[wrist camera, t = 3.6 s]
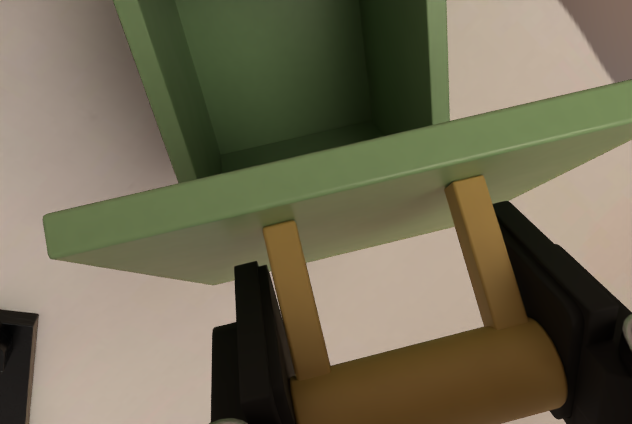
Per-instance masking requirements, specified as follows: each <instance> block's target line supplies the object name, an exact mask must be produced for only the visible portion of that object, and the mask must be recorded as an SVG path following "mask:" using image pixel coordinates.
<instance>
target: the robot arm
mask: <svg viewBox="0 0 632 424" xmlns="http://www.w3.org/2000/svg"><path fill="white" fill-rule="evenodd" d="M493 207H494V211H495V214H496V217H497V220H498V224H499V227H500V230H501V233H502V236H503V240H504V243H505V246H506V249H507V253H508V256H509V259H510V262H511V266H512V269H513V272H514V275H515V278H516V282H517V285H518V288H519V291H520V295H521V298H522V301H523V304H524V308H525V311H526V314H527V317H529V318H532V319H534V320H535V321H537V322H538V323H539V324H540V325H541V326H542V327H543V329H544V330H545V331H546V332H547V334H548V335H549V337H550V338H551V340H552V342H553V344H554V345H555V347H556V349H557V352H558V354H559V356H560V359H561V361H562V364H563V367H564V371H565V375H566V380H567V389H568V392H567V399H566V402H565V403H564V404H563V405H562V406H561V407H560V408H557V409H553V410H550V412H551V413H552V415H553V416H554V417H555V418H556V419H562V418H563V419H564V421H565V422H566V424H632V312H631V311H630V310H629V309H627V308H626V307H625V306H624V305H623V304H622V303H621V302H620V301H619V300H618V299H617V298H616V297H615V296H613V295H612V294H611V293H610V292H609V291H608V290H607V289H606V288H605V287H604V286H603V285H602V284H601V283H600V282H598V281H597V280H596V279H595V278H594V277H593V276H592V275H591V274H590V273H589V272H588V271H587V270H586V269H585V268H583V267H582V266H581V265H580V264H579V263H578V262H577V261H576V260H575V259H574V258H573V257H572V256H571V255H570V254H568V253H567V252H566V251H565V250H564V249H563V248H562V247H560V246H559V245H557V244H554V243H553V242H552V241H551V240H549V239H548V238H547V237H546V236H545V235H544V234H543V233H542V232H541V231H540V230H539V229H538V228H537V227H536V226H535V225H534V224H533V223H531V222H530V221H529V220H528V219H527V218H526V217H525V216H524V215H523V214H522V213H521V212H520V211H519V210H518V209H517V208H516V207H515V206H513V205H512V204H511V203H510V202H509V201H502V202H498V203H494V204H493ZM234 277H235V300H236V322H235V323H231V324H227V325H223V326H219V327H215V328H214V329H213V333H212V387H211V423H209V424H296V420H295V415H294V410H293V405H292V399H291V392H290V378H291V377H292V376H293V375H295V372H294V368H293V364H292V359H291V355H290V350H289V346H288V342H287V337H286V333H285V328H284V324H283V320H282V317H281V313H280V309H279V306H278V302H277V299H276V295H275V291H274V288H273V284H272V281H271V277H270V274H269V270H268V267H267V265H262V266H259V265H258V262H257V261H253V262H249V263H245V264H241V265H237V266H234Z"/></svg>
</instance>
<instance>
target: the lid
mask: <svg viewBox="0 0 632 424" xmlns="http://www.w3.org/2000/svg"><path fill="white" fill-rule="evenodd" d="M630 140H632V79H630V80H627V81H622V82H618V83H613V84H609V85H604V86H600V87H596V88H591V89H587V90H583V91H578V92H574V93H570V94H565V95H561V96H556V97H552V98H548V99H543V100H539V101H535V102H530V103H526V104H522V105H517V106H513V107H509V108H504V109H500V110H496V111H491V112H487V113H483V114H478V115H474V116H470V117H465V118H461V119H457V120H452V121H448V122H444V123H439V124H435V125H430V126H426V127H422V128H417V129H413V130H409V131H404V132H400V133H396V134H391V135H387V136H383V137H378V138H374V139H370V140H365V141H361V142H357V143H352V144H348V145H344V146H339V147H335V148H331V149H326V150H322V151H317V152H313V153H309V154H304V155H300V156H296V157H291V158H287V159H283V160H278V161H274V162H270V163H265V164H261V165H257V166H252V167H248V168H244V169H239V170H235V171H231V172H226V173H222V174H218V175H213V176H209V177H205V178H200V179H196V180H191V181H187V182H183V183H178V184H174V185H170V186H165V187H161V188H157V189H152V190H148V191H144V192H139V193H135V194H131V195H126V196H122V197H118V198H113V199H109V200H105V201H100V202H96V203H92V204H87V205H83V206H78V207H74V208H70V209H65V210H61V211H57V212H52V213H48V214H46V215H44V216H43V225H44V232H45V238H46V245H47V251H48V255H49V257H50V259H54V260H60V261H67V262H73V263H79V264H85V265H91V266H97V267H103V268H110V269H116V270H122V271H128V272H134V273H140V274H146V275H153V276H159V277H165V278H171V279H177V280H183V281H190V282H196V283H202V284H208V285H217V284H221V283H225V282H229V281H233V280H235V277H234V266H237V265H241V264H245V263H249V262H253V261H257V262H258V265H259V266H262V265H267V267H268V270H269V272H270V271H272V276H273V280H274V284H275V289H276V293H277V298H278V302H279V306H280V311H281V315H282V320H283V324H284V328H285V333H286V337H287V342H288V346H289V350H290V355H291V359H292V364H293V368H294V372H295V375H293V376H292V377H291V378H290V392H291V399H292V405H293V410H294V415H295V420H296V424H501V423H505V422H509V421H512V420H516V419H520V418H524V417H527V416H531V415H535V414H539V413H542V412H546V411H550V410H553V409H557V408H560V407H561V406H562V405H563V404H564V403H565V402H566V399H567V392H568V389H567V380H566V375H565V371H564V367H563V364H562V361H561V359H560V356H559V354H558V352H557V349H556V347H555V345H554V344H553V342H552V340H551V338H550V337H549V335H548V334H547V332H546V331H545V330H544V329H543V327H542V326H541V325H540V324H539V323H538V322H537V321H535V320H534V319H532V318H529V317H527V314H526V311H525V308H524V304H523V301H522V298H521V295H520V291H519V288H518V285H517V282H516V278H515V275H514V272H513V269H512V266H511V262H510V259H509V256H508V253H507V249H506V246H505V243H504V240H503V236H502V233H501V230H500V227H499V224H498V220H497V217H496V214H495V211H494V207H493V204H494V203H498V202H502V201H509V200H511V199H513V198H515V197H517V196H519V195H521V194H523V193H525V192H527V191H529V190H531V189H533V188H535V187H537V186H539V185H541V184H543V183H545V182H547V181H549V180H551V179H553V178H555V177H557V176H559V175H562V174H564V173H566V172H568V171H570V170H572V169H574V168H576V167H578V166H580V165H582V164H584V163H586V162H588V161H590V160H592V159H594V158H596V157H598V156H600V155H602V154H604V153H606V152H608V151H610V150H612V149H614V148H616V147H618V146H620V145H622V144H624V143H626V142H628V141H630ZM451 227H455V229H456V232H457V236H458V239H459V242H460V246H461V249H462V253H463V256H464V259H465V263H466V266H467V270H468V273H469V276H470V280H471V283H472V287H473V290H474V293H475V297H476V300H477V304H478V307H479V310H480V314H481V317H482V321H483V324H484V327H481V328H477V329H473V330H469V331H465V332H461V333H457V334H454V335H450V336H446V337H442V338H438V339H434V340H430V341H426V342H422V343H418V344H414V345H411V346H407V347H403V348H399V349H395V350H391V351H387V352H383V353H379V354H375V355H371V356H368V357H364V358H360V359H356V360H352V361H348V362H344V363H340V364H336V365H332V366H330V362H329V358H328V354H327V350H326V346H325V341H324V337H323V333H322V329H321V325H320V321H319V316H318V312H317V308H316V304H315V300H314V296H313V291H312V287H311V283H310V279H309V275H308V270H307V266H306V263H307V262H312V261H316V260H320V259H324V258H328V257H332V256H336V255H340V254H344V253H349V252H353V251H357V250H361V249H365V248H369V247H373V246H377V245H382V244H386V243H390V242H394V241H398V240H402V239H406V238H410V237H414V236H419V235H423V234H427V233H431V232H435V231H439V230H443V229H447V228H451Z"/></svg>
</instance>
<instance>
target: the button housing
mask: <svg viewBox="0 0 632 424" xmlns="http://www.w3.org/2000/svg"><path fill="white" fill-rule="evenodd" d="M37 327H38V314H31V313H22V312H14V311H5V310H0V424H29V417H30V406H31V395H32V383H33V372H34V361H35V349H36V338H37Z"/></svg>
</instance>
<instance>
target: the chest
mask: <svg viewBox="0 0 632 424" xmlns="http://www.w3.org/2000/svg"><path fill="white" fill-rule="evenodd" d="M113 2H114V5H115V8H116V11H117V13H118V16H119V19H120V22H121V25H122V27H123V30H124V33H125V36H126V38H127V41H128V44H129V47H130V50H131V52H132V55H133V58H134V61H135V63H136V66H137V69H138V72H139V75H140V77H141V80H142V83H143V86H144V88H145V91H146V94H147V97H148V100H149V102H150V105H151V108H152V111H153V113H154V116H155V119H156V122H157V125H158V127H159V130H160V133H161V136H162V139H163V141H164V144H165V147H166V150H167V152H168V155H169V158H170V161H171V164H172V166H173V169H174V172H175V175H176V177H177V180H178V183H183V182H187V181H191V180H196V179H200V178H205V177H209V176H213V175H218V174H222V173H226V172H231V171H235V170H239V169H244V168H248V167H252V166H257V165H261V164H265V163H270V162H274V161H278V160H283V159H287V158H291V157H296V156H300V155H304V154H309V153H313V152H317V151H322V150H326V149H331V148H335V147H339V146H344V145H348V144H352V143H357V142H361V141H365V140H370V139H374V138H378V137H383V136H387V135H391V134H396V133H400V132H404V131H409V130H413V129H417V128H422V127H426V126H430V125H435V124H439V123H444V122H448V121H450V114H449V79H448V43H447V8H446V0H113Z"/></svg>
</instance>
